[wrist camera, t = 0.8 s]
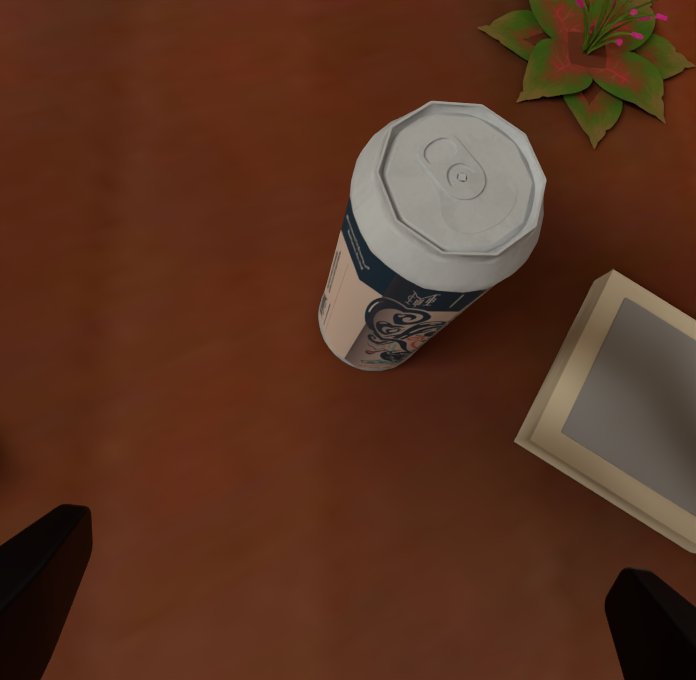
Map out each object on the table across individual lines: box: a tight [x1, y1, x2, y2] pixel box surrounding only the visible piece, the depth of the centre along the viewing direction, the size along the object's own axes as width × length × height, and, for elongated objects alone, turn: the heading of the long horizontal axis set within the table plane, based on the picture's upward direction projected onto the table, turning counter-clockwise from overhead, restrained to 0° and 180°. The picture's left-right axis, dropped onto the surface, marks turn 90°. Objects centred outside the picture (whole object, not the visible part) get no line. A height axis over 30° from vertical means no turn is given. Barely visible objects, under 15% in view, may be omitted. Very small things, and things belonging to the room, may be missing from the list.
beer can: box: [318, 101, 546, 371], centre depth 17 cm, size 5×5×12 cm
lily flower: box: [478, 0, 695, 149], centre depth 27 cm, size 12×12×5 cm
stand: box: [514, 269, 696, 553], centre depth 23 cm, size 9×9×2 cm
